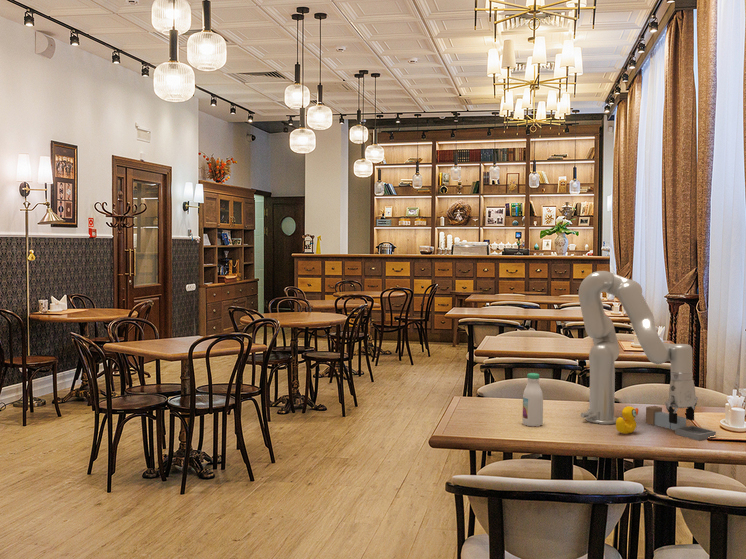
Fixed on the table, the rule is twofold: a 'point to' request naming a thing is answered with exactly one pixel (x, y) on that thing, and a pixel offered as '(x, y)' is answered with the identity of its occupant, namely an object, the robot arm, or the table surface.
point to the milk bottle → (533, 402)
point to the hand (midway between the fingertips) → (681, 421)
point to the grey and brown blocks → (657, 417)
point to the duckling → (627, 420)
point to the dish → (694, 432)
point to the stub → (679, 423)
